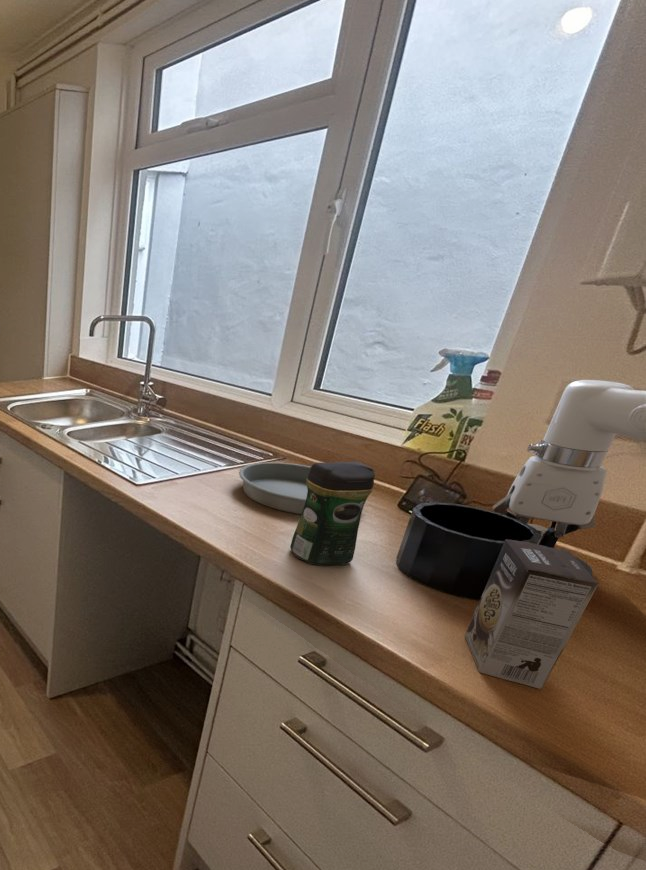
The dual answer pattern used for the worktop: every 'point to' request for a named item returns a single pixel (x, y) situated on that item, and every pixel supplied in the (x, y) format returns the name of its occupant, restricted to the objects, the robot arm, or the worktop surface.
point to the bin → (457, 546)
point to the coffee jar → (332, 512)
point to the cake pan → (276, 485)
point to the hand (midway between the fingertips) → (526, 549)
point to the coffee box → (528, 612)
